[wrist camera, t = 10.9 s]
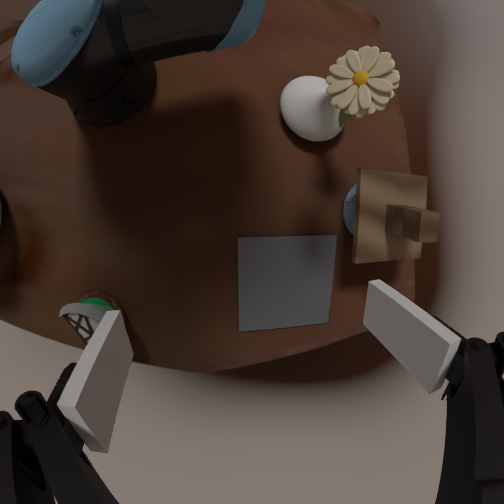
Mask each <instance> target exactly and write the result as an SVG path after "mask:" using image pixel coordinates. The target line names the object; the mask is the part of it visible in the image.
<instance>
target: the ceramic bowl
mask: <svg viewBox="0 0 504 504" xmlns="http://www.w3.org/2000/svg"><path fill="white" fill-rule="evenodd" d="M355 205H356V184H354V185H353V186H352V187H351V188H350V190H349V191H348V192H347V194H346V196H345V199H344V202H343V209H342V213H343V220H344V223H345V225H346V227H347V229H348V231H349V232H350V233H351V234H352V235H353V236H354V223H355Z"/></svg>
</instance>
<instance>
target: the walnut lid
mask: <svg viewBox="0 0 504 504" xmlns="http://www.w3.org/2000/svg"><path fill="white" fill-rule="evenodd" d="M426 197H427V177H423V176H418V175H411V174H404V173H397V172H389V171H381V170H373V169H363V168H356V205H355V223H354V237H353V249H352V260H351V261H352V262H353V263H355V264H357V263H369V262H381V261H393V260H404V259H415V258H420V254H421V248H422V243H423V242H437V238H438V230H439V221H440V213H437V212H433V211H429V210H426Z"/></svg>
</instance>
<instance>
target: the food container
mask: <svg viewBox="0 0 504 504" xmlns="http://www.w3.org/2000/svg"><path fill="white" fill-rule="evenodd" d="M114 310H120V311H121V314H122V318H123V321H124V325H125V322H126V315H125V310H124V308H123V306H122V305H121V303H120V302H119V301H118V300H117V299H116V298H115V297H114V296H112V295H111V294H109V293H107V292H103V291H92V292H90V293H88V294H86V295H85V296H84V297H82V298H81V299H80V300H78V301H77V302H76V303H72V304H68V305H66V306H64V307H63V308H62V309H61V311H60V313H59V314H60V316H61V315H63V317H64V318H65V319H66V320H67V321H68V322H69V323H70V325H71V326H72V327H73V328H74V330H75V331H76V332H77V334H78V335H79V337H80V338H81V339H82V340H83V342H84V343H85V344H86V345H87V344H88V343H89V341H90V339H91V337H92V335H93V334H94V332H95V330H96V329H97V327H98V325H99V323H100V322H101V320H102V318H103V317H104V315H105V313H106V312H107V311H114ZM60 316H59V317H60Z"/></svg>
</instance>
